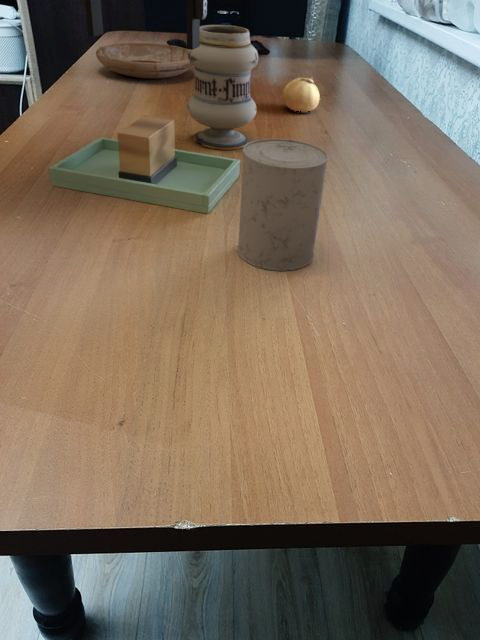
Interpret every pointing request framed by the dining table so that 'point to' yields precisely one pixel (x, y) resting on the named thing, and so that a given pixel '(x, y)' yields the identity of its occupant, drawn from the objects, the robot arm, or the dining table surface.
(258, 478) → the dining table surface
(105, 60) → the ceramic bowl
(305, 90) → the onion
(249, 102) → the apothecary jar
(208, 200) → the tray
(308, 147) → the grey cylinder
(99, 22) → the robot arm
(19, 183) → the dining table surface
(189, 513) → the dining table surface
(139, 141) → the eraser
